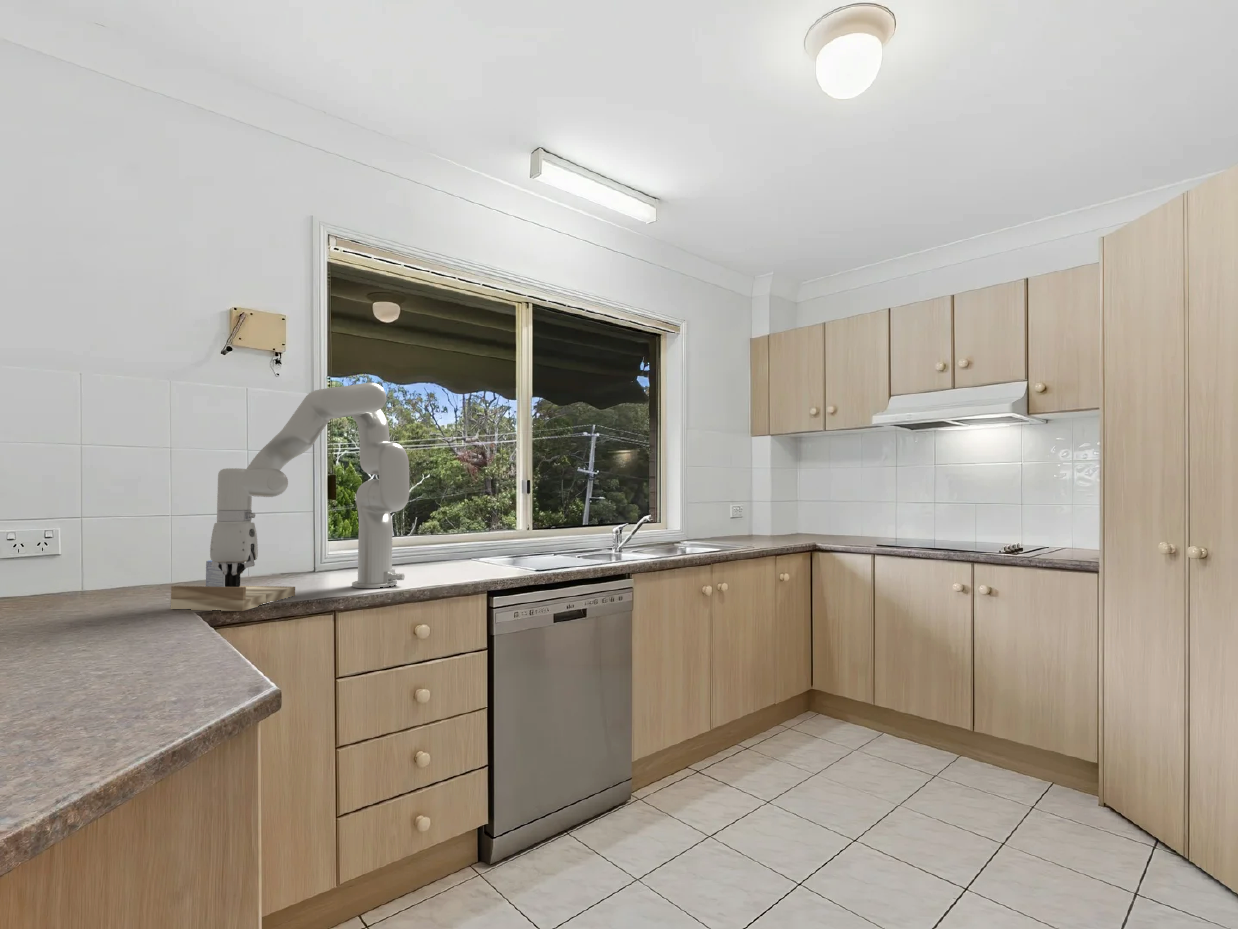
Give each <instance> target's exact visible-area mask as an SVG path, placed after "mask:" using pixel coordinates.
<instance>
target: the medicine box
mask: <svg viewBox="0 0 1238 929" xmlns="http://www.w3.org/2000/svg"><path fill="white" fill-rule="evenodd" d="M211 563H212V560H211V559H210V560H206V563H205V586H211V587H225V575H223V573H222V571H221V570H220V568H217V567H213V566H212V565H211Z"/></svg>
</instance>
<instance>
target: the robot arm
mask: <svg viewBox="0 0 1238 929" xmlns="http://www.w3.org/2000/svg"><path fill="white" fill-rule="evenodd" d="M386 403H387V394H386V390H385V389H384V388H383V387H382V386H381V385H380V384H378V383H376V382H371V381H369V382H365V383H357V384H352V385H343V386H334V387H326V388H321V389H315V390H313V391H311V392H309V393H307V395H306V396H305V397H304V398H303V399H302V401H301V403H300V404H299V406H297V409H296V410H295V411H294V412H293V414H292V415H291V417H290V418H289V420H288V421H287V422H286V424H285V425H284V427H283V428H282V429H281V430H280V431H279V433H277V434H276V435H275V436H274V437H273V438H272V439H270V441H269V442H268V443H267V444H265V445H264V447H262V448H261V450H260V451H259V452H258V453H257V454H256V455H255V457H253V459H252V460H251V461H250V462H249V464H248V466H247V467H246V468H237V467H236V468H230V467H229V468H221V469H220V470H219V471H218V474H217V493H216V494H217V500H216V501H217V503H216V522H215V523H214V524H213V528H212V531H211V532H212V533H211V536H210V537H211V538H210V546H209V547H210V548H209V557H210V558H209V559H210V560H212V563H211V565H212V566H213V567H217V568H220V570H221V571H222V573H223V575H225V587H240V586H241V574H243V573H244V572H245V570H246V569H248V568H251V567H255V565H256V564H255V563H256V562H255V561H257V560H258V556H259V555H258V553H259V552H258V551H259V549H258V548H259V547H258V545H259V544H258V535H257V527H256V524H255V522H252V519H255V518H256V513H255V512H252V506H253V505H252V498H253V497H257V498H273V497H278V496H280V495H282V494H283V493H285V492H286V490H287V488H288V487H289V479H288V477H287V475H286V474H285V473H284V472H283V471H282V469H283V468H284V467H285V466H286V465H287V464H288V463H289V462H290V461H292V460H294V459H295V458H296V457H299V456H300V455H302V454H304V453H305V452H307V451H308V450H309V449H311V448H312V447H313V445H315V442H316V440H317V439H318V438H319V436H320V435H321V434H322V432H323V430H324V429H325V427H326V426H327V425H328V423H330V420H332V419H340V418H348V417H352V418H353V420H354V421H355V423H356V426H357V427H358V428H357V429H358V436H359V439H358V440H359V464H360V467H361V470H363V472H364V473H366V474H368V475H375V476H378V479H370V480H366V481H364V482H363V483H361V485H359V487H358V488H357V491H356V492H355V493H356V494H355V495H356V496H355V502H356V507H357V508H356V509H357V516H358V540H357V541H358V542H357V543H358V544H357V548H358V549H357V553H358V554H357V580H355V581H353V582H352V583H351V586H352V588H356V589H381V588H380V587H383V588H390V587H389V586H391V587H395V586H397V585H398V581H404V580H405V576H406V575H405V573H396V569H395V568H393V529H394V528H393V519H392V515H391V513H395V512H400V511H401V510H403V509H404V508H405V507H406V506H407V504H408V502H409V499H410V491H411V490H410V488H411V487H410V462H409V461H410V460H409V456H408V453H407V451H406V450H405V448H404V447H403V446H402V445H401V444H399V443H397V442H392V441H390V439H391V438H390V428H389V427H390V426H389V423H388V419H387V417H386V415H385V413H384V412H383V411H382V409H383V408H384V407H385V406H386ZM396 584H397V585H396ZM394 585H395V586H394Z"/></svg>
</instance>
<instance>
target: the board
mask: <svg viewBox="0 0 1238 929" xmlns="http://www.w3.org/2000/svg"><path fill="white" fill-rule="evenodd" d="M291 596H293V597H295V596H296V586H278V585H276V586H274V585H272V586H271V585H268V586H267V585H240V587H211V586H206V585H205V586H204V585H202V586H199V585H197V586H196V585H171V587H170V610H171V609H191V610H190V611H212V610H216V609H217V610H221V612H244V611H248V610H251V609H254V608H259V607H260V606H259V605H261V604H263V603H267V602H270V601H276V602H278V601H277V600H279V601H281V600H280V599H283V600H285V599H284V598H286V599H289V598H288V597H290V598H292V597H291ZM258 606H259V607H258Z"/></svg>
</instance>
